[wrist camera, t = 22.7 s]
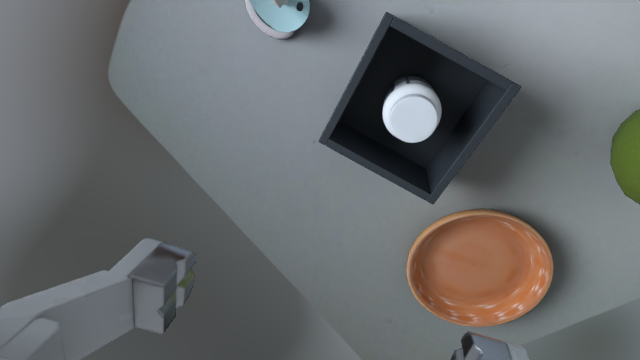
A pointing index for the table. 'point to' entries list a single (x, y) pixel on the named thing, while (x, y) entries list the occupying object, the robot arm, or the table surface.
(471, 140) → the bin
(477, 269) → the saucer
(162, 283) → the robot arm
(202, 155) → the table surface
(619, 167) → the apple
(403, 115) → the pill bottle
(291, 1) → the pacifier
